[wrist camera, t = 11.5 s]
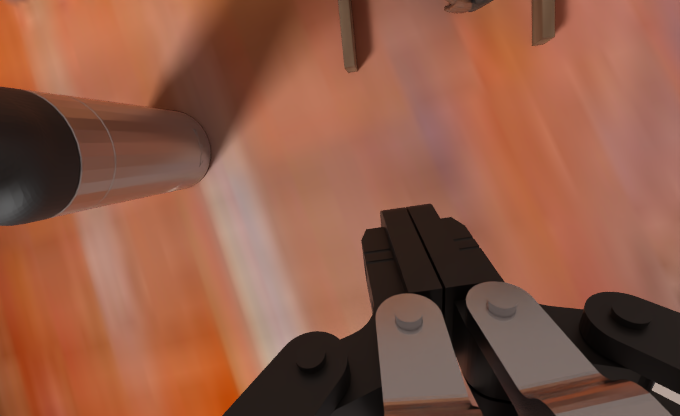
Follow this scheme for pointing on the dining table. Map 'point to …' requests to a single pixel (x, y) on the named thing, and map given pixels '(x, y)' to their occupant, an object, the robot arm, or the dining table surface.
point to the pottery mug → (465, 5)
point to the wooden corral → (540, 28)
